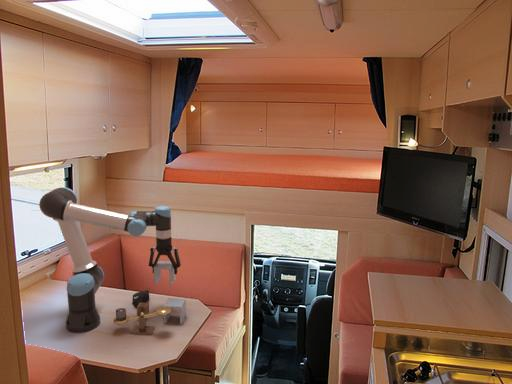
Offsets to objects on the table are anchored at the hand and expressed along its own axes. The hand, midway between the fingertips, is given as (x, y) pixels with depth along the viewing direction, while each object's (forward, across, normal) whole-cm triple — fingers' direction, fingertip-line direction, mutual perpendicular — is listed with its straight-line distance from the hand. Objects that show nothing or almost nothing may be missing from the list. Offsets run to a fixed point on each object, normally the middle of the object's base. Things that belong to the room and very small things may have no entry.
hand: (165, 279), depth 206 cm
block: (+16, -8, -11) cm, 21 cm away
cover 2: (+16, +8, -11) cm, 21 cm away
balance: (+16, -4, -23) cm, 28 cm away
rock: (+16, -15, +5) cm, 23 cm away
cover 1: (+1, 0, 0) cm, 1 cm away
